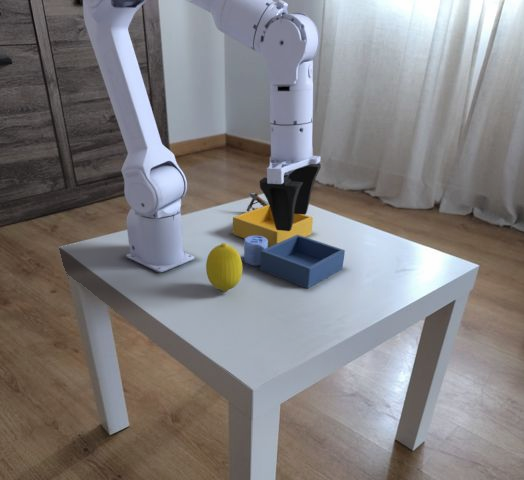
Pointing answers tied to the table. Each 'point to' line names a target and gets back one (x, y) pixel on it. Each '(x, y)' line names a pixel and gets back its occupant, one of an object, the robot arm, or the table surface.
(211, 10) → the robot arm
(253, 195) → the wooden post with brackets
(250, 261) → the light blue short cylinder
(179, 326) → the table surface
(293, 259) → the blue bin
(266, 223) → the yellow bin
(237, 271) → the lemon
